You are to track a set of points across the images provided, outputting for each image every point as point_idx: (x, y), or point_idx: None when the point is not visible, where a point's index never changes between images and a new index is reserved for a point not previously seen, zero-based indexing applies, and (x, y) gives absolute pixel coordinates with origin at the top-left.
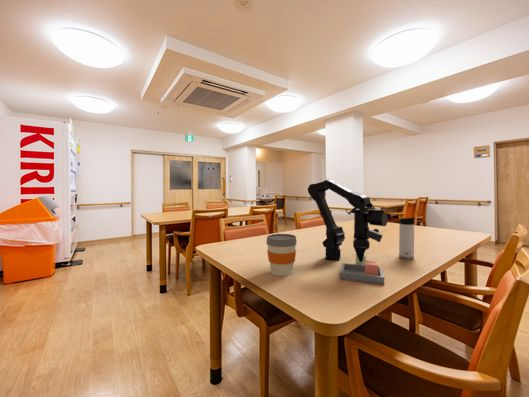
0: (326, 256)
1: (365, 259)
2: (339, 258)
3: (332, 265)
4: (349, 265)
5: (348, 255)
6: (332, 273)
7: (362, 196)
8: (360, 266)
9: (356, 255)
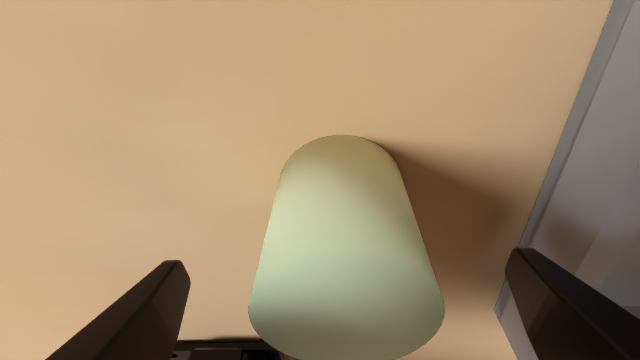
0: None
1: (394, 213)
2: (241, 350)
3: (413, 356)
4: None
5: (49, 298)
6: None
7: None
8: (619, 231)
9: (387, 353)
